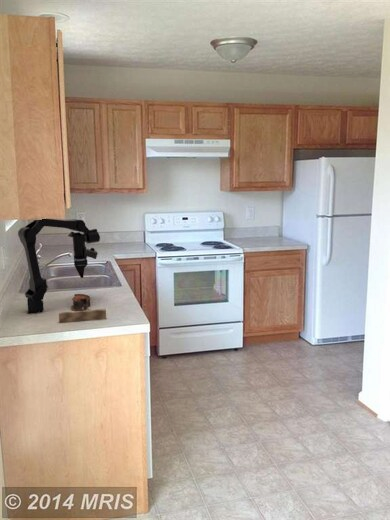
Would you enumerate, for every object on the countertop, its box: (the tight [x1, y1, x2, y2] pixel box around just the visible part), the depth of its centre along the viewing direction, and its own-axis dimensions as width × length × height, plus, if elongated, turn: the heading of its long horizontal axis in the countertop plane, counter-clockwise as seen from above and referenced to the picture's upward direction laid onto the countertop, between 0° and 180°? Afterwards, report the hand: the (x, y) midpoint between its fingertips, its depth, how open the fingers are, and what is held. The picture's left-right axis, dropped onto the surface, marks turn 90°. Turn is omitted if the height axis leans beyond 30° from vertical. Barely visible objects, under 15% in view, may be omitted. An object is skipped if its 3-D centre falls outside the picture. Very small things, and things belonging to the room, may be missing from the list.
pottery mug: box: [70, 293, 91, 311], centre depth 225 cm, size 12×10×8 cm
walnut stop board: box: [58, 308, 107, 324], centre depth 207 cm, size 20×2×4 cm, turn 105°
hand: (81, 275), depth 234 cm, fingers open, 9 cm apart
